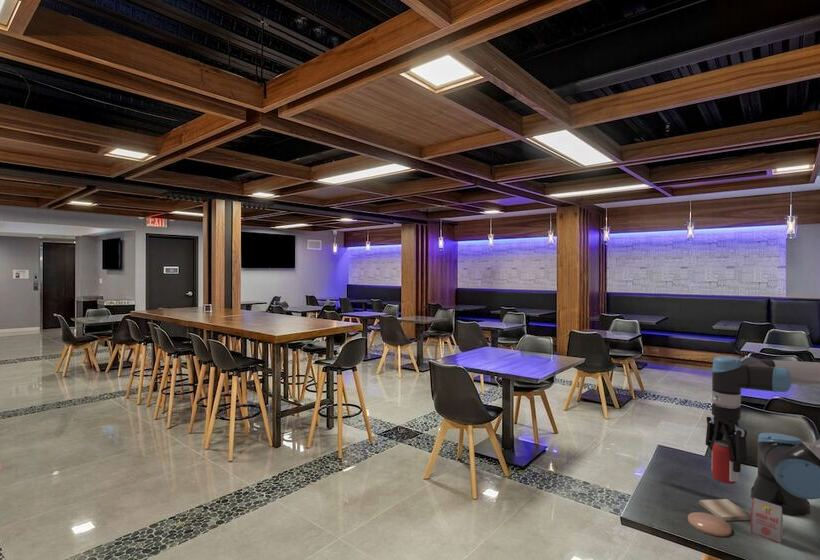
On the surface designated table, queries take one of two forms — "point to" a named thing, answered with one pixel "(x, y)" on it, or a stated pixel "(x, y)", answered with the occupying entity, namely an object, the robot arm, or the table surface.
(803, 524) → the table surface
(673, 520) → the table surface
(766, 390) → the robot arm
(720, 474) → the beer can
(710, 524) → the coaster
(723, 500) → the square tan board
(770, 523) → the printed cardboard carton
